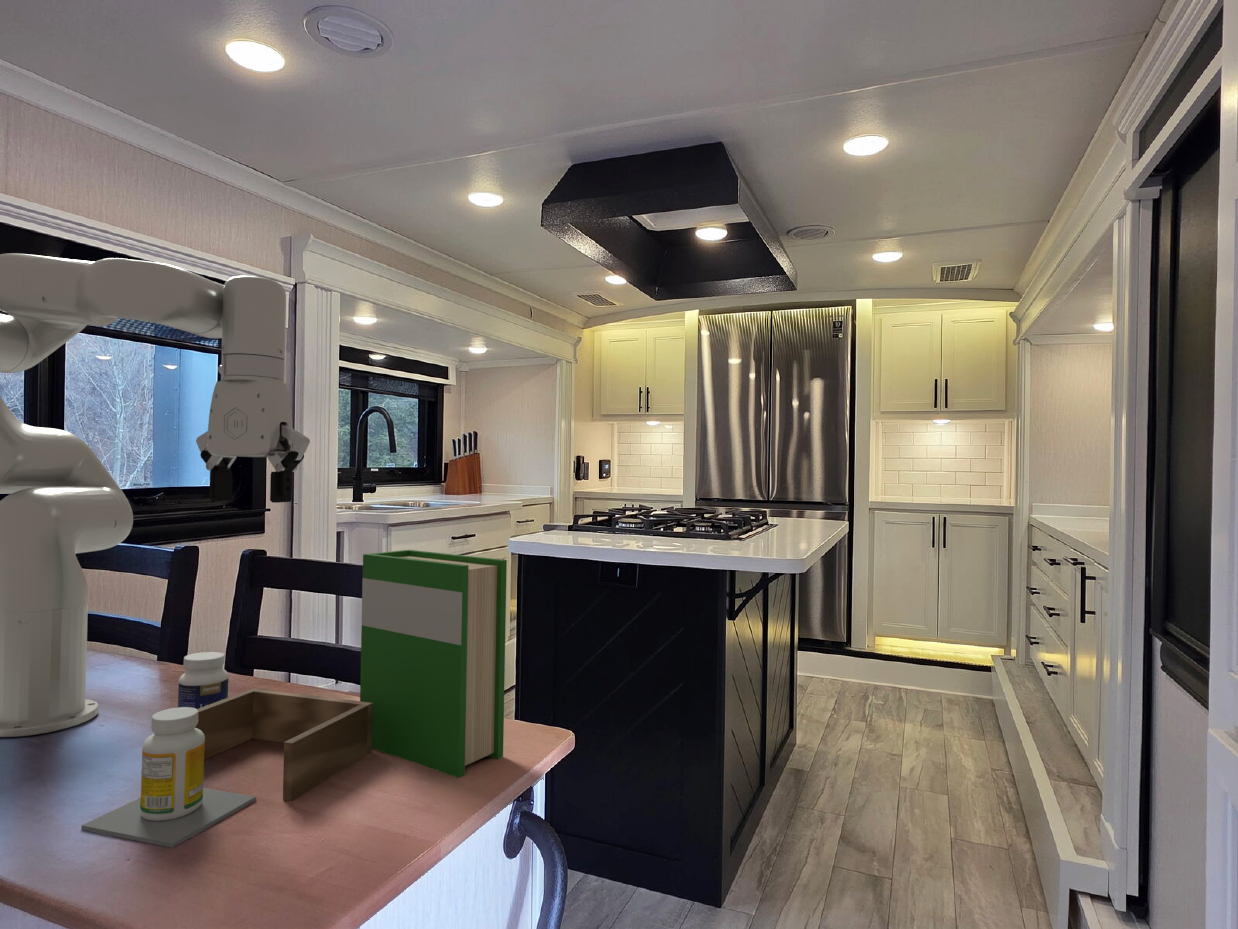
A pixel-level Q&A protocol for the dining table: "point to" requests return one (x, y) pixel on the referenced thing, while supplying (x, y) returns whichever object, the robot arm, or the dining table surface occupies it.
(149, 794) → the supplement bottle
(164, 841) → the grey mat
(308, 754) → the wooden u-shaped frame
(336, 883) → the dining table surface
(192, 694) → the pill bottle
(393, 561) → the hardback book
